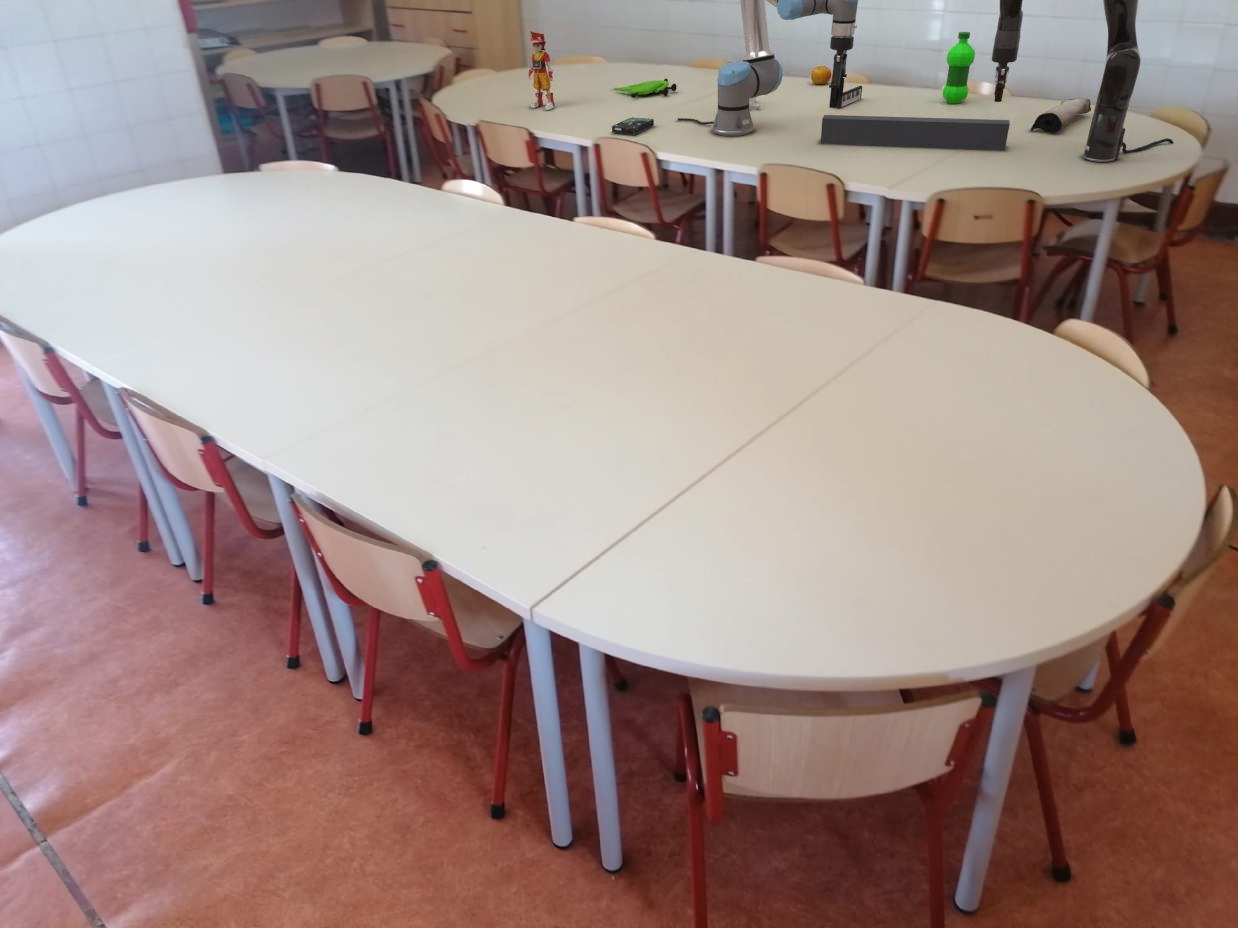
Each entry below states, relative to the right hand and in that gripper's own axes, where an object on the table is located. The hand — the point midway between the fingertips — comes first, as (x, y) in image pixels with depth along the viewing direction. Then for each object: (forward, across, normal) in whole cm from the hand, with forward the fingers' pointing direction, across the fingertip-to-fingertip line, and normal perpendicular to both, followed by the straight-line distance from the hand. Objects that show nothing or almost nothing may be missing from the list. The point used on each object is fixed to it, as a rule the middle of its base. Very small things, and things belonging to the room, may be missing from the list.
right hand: (997, 98), depth 294 cm
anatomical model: (+14, +47, +94) cm, 106 cm away
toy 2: (+13, +67, +145) cm, 161 cm away
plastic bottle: (+16, +62, +14) cm, 66 cm away
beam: (+15, 0, +26) cm, 30 cm away
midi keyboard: (+15, +56, +53) cm, 79 cm away
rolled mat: (+16, +34, -24) cm, 45 cm away
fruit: (+14, +90, +70) cm, 115 cm away
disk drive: (+14, +6, +129) cm, 130 cm away
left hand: (+2, 0, +52) cm, 52 cm away
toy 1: (+12, +36, +180) cm, 183 cm away
